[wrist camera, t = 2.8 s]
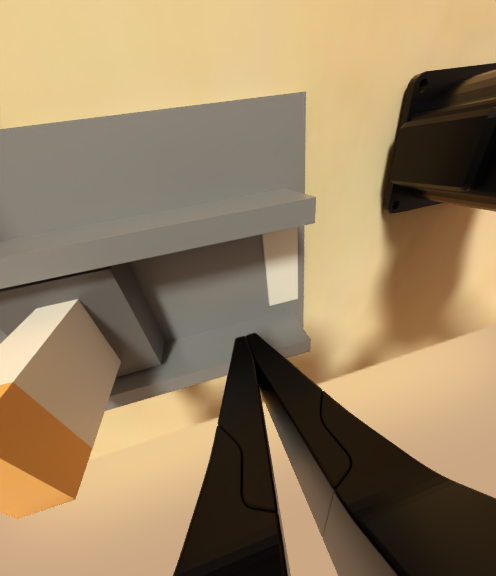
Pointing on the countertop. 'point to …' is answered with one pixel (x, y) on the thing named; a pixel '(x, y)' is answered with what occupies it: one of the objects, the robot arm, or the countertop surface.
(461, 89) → the robot arm
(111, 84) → the countertop surface
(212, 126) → the housing
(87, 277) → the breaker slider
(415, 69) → the countertop surface
